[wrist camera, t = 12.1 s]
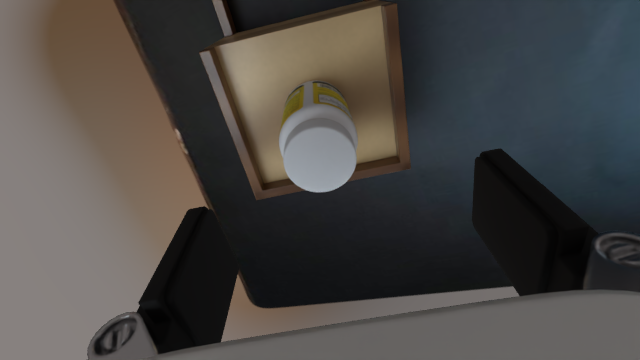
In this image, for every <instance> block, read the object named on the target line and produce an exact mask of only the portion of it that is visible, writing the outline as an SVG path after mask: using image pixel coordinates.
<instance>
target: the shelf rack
mask: <svg viewBox="0 0 640 360" xmlns="http://www.w3.org/2000/svg"><path fill="white" fill-rule="evenodd" d="M212 2H213V5H214V8H215V11H216V13H217V16H218V19H219V22H220V25H221V28H222V31H223V34H224V36H225V37H224V38H223V39H221V40H219V41H217V42H216V43H214V44H212V45H210V46H209V47H207V48H205V49H204V50H202V51H200V52H199V54H200V57H201V59H202V62H203V64H204V67H205V70H206V72H207V75H208V77H209V80H210V82H211V85H212V87H213V90H214V92H215V95H216V98H217V100H218V103H219V105H220V108H221V110H222V113H223V115H224V118H225V121H226V123H227V126H228V128H229V131H230V133H231V136H232V138H233V141H234V144H235V146H236V149H237V151H238V154H239V156H240V159H241V161H242V164H243V167H244V169H245V172H246V174H247V177H248V179H249V182H250V184H251V187H252V190H253V192H254V195H255V197H256V200H259V199H264V198H269V197H274V196H278V195H283V194H288V193H293V192H298V191H303V190H305V189H302V188H301V187H299V186H297V185H296V184H295V183H294V182H293V181H292V180H291V179H290V178H289V177H288V175H287V173H286V171H285V168H284V163H283V157H282V155H281V152H280V147H279V134H280V129H281V123H282V117H283V112H284V106H285V102H286V100H287V98H288V96H289V94H290V93H291V92H292V91H293V90H294V89H295V88H296V87H297V86H299V85H301V84H303V83H305V82H308V81H315V80H317V81H324V82H327V83H330V84H332V85H333V86H335V87H336V88H337V89H338V90H339V91H340V92H341V93H342V95H343V97H344V98H345V101H346V103H347V106H348V109H349V111H350V114H351V117H352V119H353V122H354V125H355V127H356V131H357V137H358V145H357V150H356V155H357V161H356V167H355V170H354V172H353V174H352V176H351V177H350V178H349V180H348V181H352V180H357V179H362V178H367V177H372V176H377V175H382V174H387V173H392V172H397V171H402V170H406V169H411V165H410V153H409V141H408V129H407V117H406V106H405V94H404V82H403V70H402V58H401V46H400V35H399V23H398V11H397V3H392V2H386V1H379V0H363V1H362V2H358V3H354V4H350V5H346V6H342V7H338V8H334V9H330V10H326V11H322V12H318V13H314V14H310V15H306V16H302V17H298V18H294V19H290V20H286V21H282V22H278V23H274V24H270V25H266V26H262V27H258V28H254V29H250V30H246V31H242V32H238V33H237V32H236V29H235V25H234V22H233V19H232V16H231V13H230V10H229V7H228V4H227V1H226V0H212Z"/></svg>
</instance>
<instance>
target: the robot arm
mask: <svg viewBox="0 0 640 360" xmlns="http://www.w3.org/2000/svg"><path fill="white" fill-rule="evenodd" d="M472 221H473V225H474V228H475V229H476V231H477V232H478V234H479V235H480V237H481V238H482V240H483V241H484V243H485V244H486V246H487V247H488V249H489V250H490V252H491V253H492V255H493V256H494V258H495V259H496V261H497V263H498V264H499V266H500V267H501V269H502V270H503V272H504V273H505V275H506V276H507V278H508V279H509V281H510V282H511V284H512V285H513V287H514V288H515V289H516V291H517V293H518V294H519V297H511V298H504V299H497V300H489V301H482V302H476V303H469V304H463V305H456V306H450V307H442V308H435V309H429V310H422V311H416V312H409V313H402V314H396V315H389V316H383V317H376V318H370V319H363V320H357V321H351V322H344V323H338V324H332V325H325V326H319V327H313V328H306V329H300V330H293V331H288V332H281V333H275V334H269V335H262V336H256V337H250V338H244V339H238V340H231V341H226V342H221V339H222V335H223V330H224V327H225V322H226V319H227V315H228V310H229V307H230V302H231V299H232V295H233V290H234V286H235V282H236V278H237V274H238V270H239V265H238V261H237V259H236V257H235V255H234V252H233V250H232V248H231V246H230V244H229V242H228V240H227V238H226V236H225V234H224V232H223V230H222V228H221V226H220V224H219V222H218V220H217V218H216V216H215V214H214V212H213V211H212V210H211V209H209V210H208V208H206V207H199V208H193V209H189V210H188V211H187V213H186V215H185V216H184V218H183V220H182V222H181V224H180V226H179V228H178V230H177V231H176V233H175V235H174V237H173V239H172V241H171V243H170V245H169V247H168V248H167V250H166V252H165V254H164V256H163V258H162V260H161V261H160V264H159V265H158V267H157V269H156V271H155V273H154V275H153V277H152V278H151V280H150V282H149V284H148V286H147V288H146V290H145V292H144V293H143V295H142V297H141V299H140V301H139V305H140V306H139V309H138V310H137V312H127V313H124V314H121V315H118V316H116V317H115V318H113V319H111V320H110V321H108V322H107V323H106V324H105V325H103V326H102V327H101V328H100V329H99V330H98V331H97V332H96V334H95V335H94V337H93V338H92V340H91V341H90V344H89V346H88V353H87V355H88V360H640V235H638V234H634V233H631V232H624V231H607V232H603V233H599V234H598V233H597V232H596V231H595V230H594V229H593V228H592V227H590V226H589V225H588V224H587V223H586V222H585V221H584V220H582V219H581V218H580V217H579V216H578V215H577V214H576V213H574V212H573V211H572V210H571V209H570V208H569V207H568V206H566V205H565V204H564V203H563V202H562V201H561V200H560V199H558V198H557V197H556V196H555V195H554V194H553V193H552V192H550V191H549V190H548V189H547V188H546V187H545V186H544V185H542V184H541V183H540V182H539V181H537V180H536V179H535V178H534V177H533V176H532V175H531V174H529V173H528V172H527V171H526V170H525V169H524V168H523V167H522V166H520V165H519V164H518V163H517V162H516V161H515V160H514V159H512V158H511V157H510V156H509V155H508V154H507V153H506V152H504V151H503V150H502V149H494V150H489V151H484V152H482V153H481V154H480V157H477V158H476V159H475V169H474V190H473V211H472Z"/></svg>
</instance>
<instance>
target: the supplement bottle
mask: <svg viewBox="0 0 640 360" xmlns="http://www.w3.org/2000/svg"><path fill="white" fill-rule="evenodd" d="M357 145H358V137H357V131H356V127H355V125H354V122H353V119H352V117H351V114H350V111H349V109H348V106H347V103H346V101H345V98H344V97H343V95H342V93H341V92H340V91H339V90H338V89H337V88H336V87H335V86H333V85H332V84H330V83H327V82H324V81H317V80H315V81H308V82H305V83H303V84H301V85H299V86H297V87H296V88H295V89H294V90H293V91H292V92H291V93H290V94H289V96H288V98H287V100H286V102H285V106H284V112H283V117H282V123H281V129H280V134H279V147H280V152H281V155H282V157H283V163H284V168H285V171H286V173H287V175H288V177H289V178H290V179H291V180H292V181H293V182H294V183H295V184H296V185H297V186H299V187H301V188H302V189H305V190H307V191H311V192H327V191H331V190H334V189H336V188H338V187H340V186H342V185H343V184H344V183H346V182H347V181H348V180H349V178H350V177H351V176H352V174H353V172H354V170H355V167H356V161H357V155H356V150H357Z"/></svg>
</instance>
